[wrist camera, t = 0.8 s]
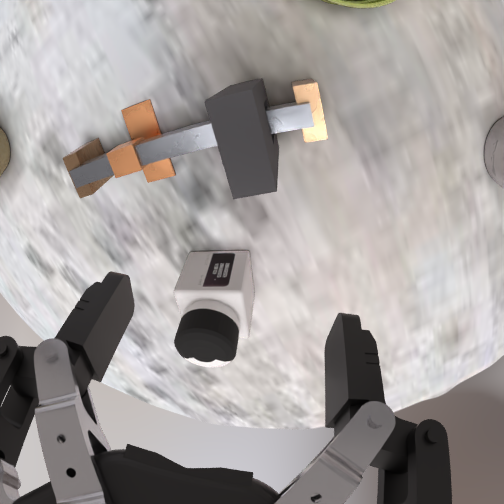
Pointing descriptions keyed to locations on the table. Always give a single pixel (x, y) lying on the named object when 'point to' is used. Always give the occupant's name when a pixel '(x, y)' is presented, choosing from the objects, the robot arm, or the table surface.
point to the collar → (245, 138)
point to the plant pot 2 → (360, 3)
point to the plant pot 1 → (4, 151)
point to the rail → (181, 140)
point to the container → (214, 306)
